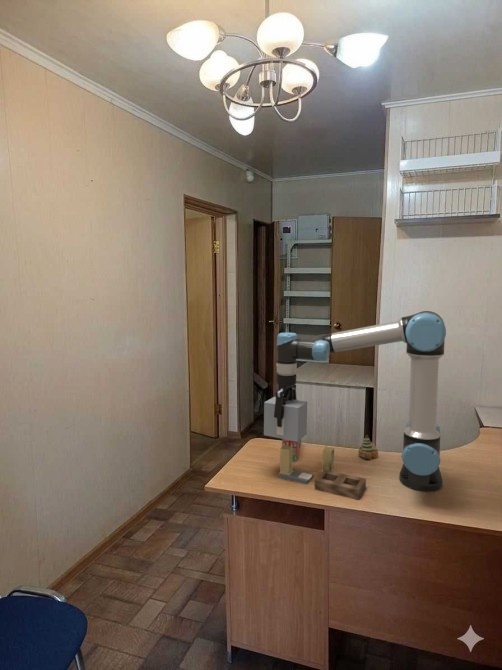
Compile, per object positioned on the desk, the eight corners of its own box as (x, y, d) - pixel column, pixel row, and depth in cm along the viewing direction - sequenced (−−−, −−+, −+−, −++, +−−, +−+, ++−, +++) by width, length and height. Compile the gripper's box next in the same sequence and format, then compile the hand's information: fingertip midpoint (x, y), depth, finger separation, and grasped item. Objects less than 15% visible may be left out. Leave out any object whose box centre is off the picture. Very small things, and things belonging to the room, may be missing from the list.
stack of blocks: (287, 442, 204) (288, 416, 202) (301, 443, 203) (301, 417, 201) (282, 460, 183) (282, 432, 182) (296, 462, 182) (297, 433, 180)
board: (314, 476, 168) (314, 449, 166) (307, 484, 162) (307, 455, 160) (284, 470, 174) (285, 443, 172) (277, 477, 168) (277, 449, 166)
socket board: (365, 487, 159) (365, 478, 158) (358, 499, 150) (358, 490, 150) (323, 478, 167) (324, 469, 166) (314, 489, 158) (314, 480, 157)
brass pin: (333, 472, 172) (334, 448, 170) (331, 475, 169) (331, 451, 167) (325, 470, 173) (325, 446, 172) (322, 474, 170) (322, 449, 169)
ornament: (369, 452, 191) (369, 430, 189) (380, 457, 186) (380, 435, 184) (356, 456, 187) (356, 434, 185) (367, 461, 181) (367, 438, 180)
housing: (306, 434, 168) (307, 401, 166) (297, 441, 160) (298, 407, 159) (274, 427, 175) (274, 396, 173) (263, 435, 167) (264, 402, 165)
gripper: (289, 367, 176) (288, 420, 179) (264, 378, 157) (264, 437, 160) (306, 369, 172) (305, 423, 175) (283, 380, 153) (282, 441, 156)
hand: (285, 430), depth 167 cm, fingers closed on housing, 9 cm apart
